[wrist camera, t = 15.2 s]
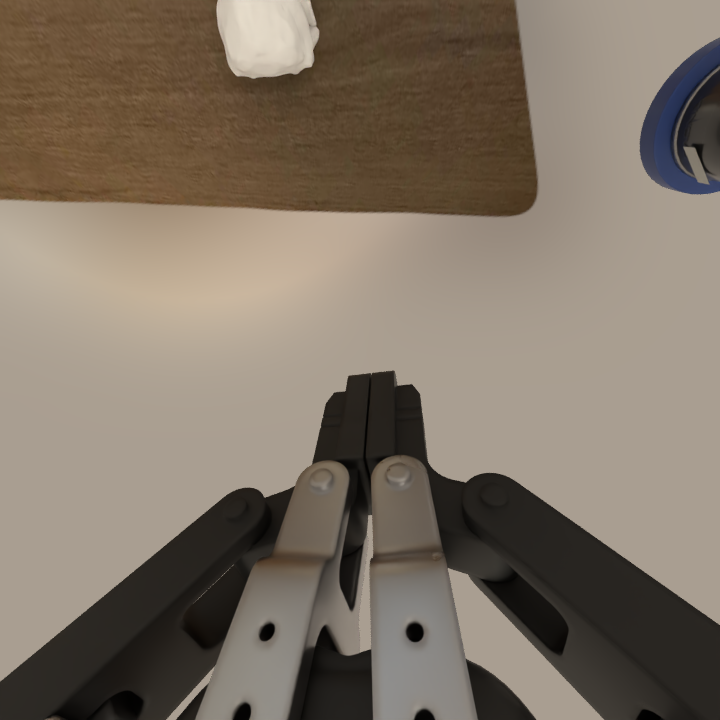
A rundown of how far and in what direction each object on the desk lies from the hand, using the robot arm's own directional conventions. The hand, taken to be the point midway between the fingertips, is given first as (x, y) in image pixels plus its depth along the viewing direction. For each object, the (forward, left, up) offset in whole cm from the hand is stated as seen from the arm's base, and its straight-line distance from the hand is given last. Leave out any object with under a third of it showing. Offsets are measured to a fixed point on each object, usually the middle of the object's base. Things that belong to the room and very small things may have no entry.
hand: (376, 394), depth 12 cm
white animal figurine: (+6, -17, -29) cm, 34 cm away
